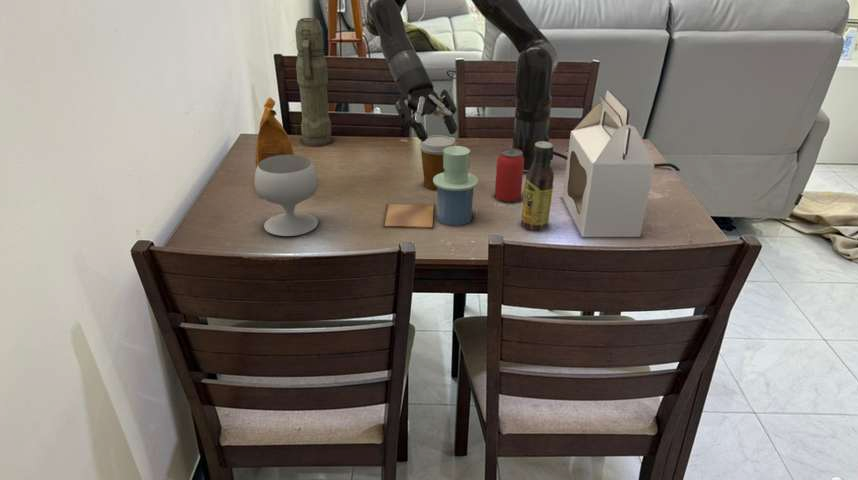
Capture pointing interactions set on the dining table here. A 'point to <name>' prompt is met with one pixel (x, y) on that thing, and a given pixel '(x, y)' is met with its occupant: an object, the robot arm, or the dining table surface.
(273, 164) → the chalice
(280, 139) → the coffee package
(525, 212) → the sauce bottle
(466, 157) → the pale green top hat
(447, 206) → the blue cup
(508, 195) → the beer can
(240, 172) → the dining table surface
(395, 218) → the cork mat
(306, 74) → the stone tiki statue
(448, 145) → the disposable coffee cup
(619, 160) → the gable box
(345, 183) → the dining table surface
